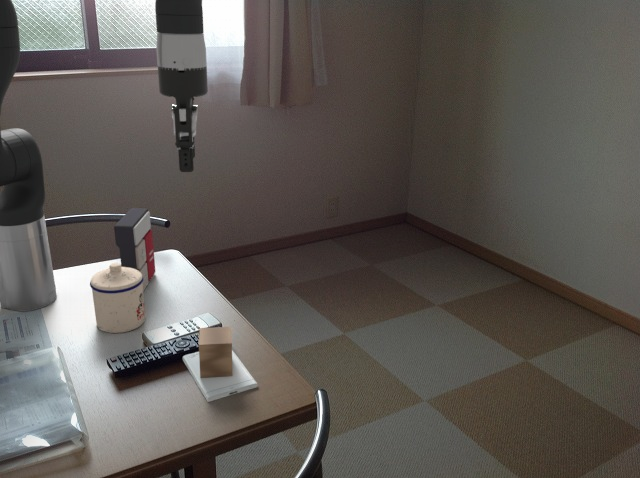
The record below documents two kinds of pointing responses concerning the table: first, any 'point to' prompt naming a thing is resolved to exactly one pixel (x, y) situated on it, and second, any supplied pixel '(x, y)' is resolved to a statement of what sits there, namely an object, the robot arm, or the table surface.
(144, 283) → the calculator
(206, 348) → the tan block
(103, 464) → the table surface
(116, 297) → the teacup with lid
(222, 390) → the hard drive
